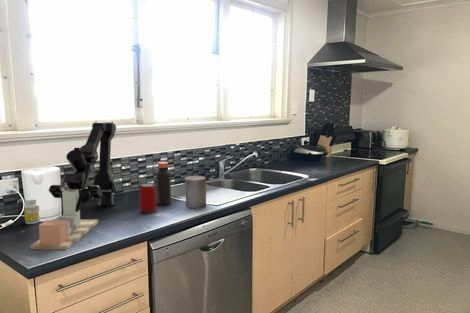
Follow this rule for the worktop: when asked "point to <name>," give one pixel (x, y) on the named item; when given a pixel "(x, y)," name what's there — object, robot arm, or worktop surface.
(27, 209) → the supplement bottle
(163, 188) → the vinegar
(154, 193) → the beverage can
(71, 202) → the pale green slab
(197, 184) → the pillar candle
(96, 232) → the worktop surface
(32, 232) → the worktop surface
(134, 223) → the worktop surface
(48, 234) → the socket block
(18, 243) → the worktop surface
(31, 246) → the base board
